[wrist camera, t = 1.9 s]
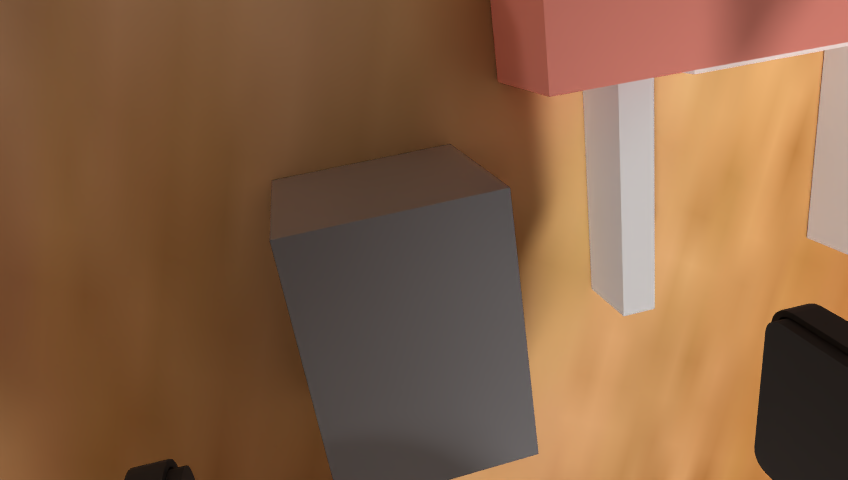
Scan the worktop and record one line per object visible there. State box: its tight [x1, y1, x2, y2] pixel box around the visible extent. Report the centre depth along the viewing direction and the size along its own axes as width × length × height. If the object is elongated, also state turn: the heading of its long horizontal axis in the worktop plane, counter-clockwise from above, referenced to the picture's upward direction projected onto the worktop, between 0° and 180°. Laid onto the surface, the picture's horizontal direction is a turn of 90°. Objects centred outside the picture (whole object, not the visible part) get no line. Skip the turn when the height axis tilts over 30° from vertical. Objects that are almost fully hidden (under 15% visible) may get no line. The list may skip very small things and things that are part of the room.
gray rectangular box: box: [270, 144, 538, 480], centre depth 16 cm, size 7×5×5 cm
